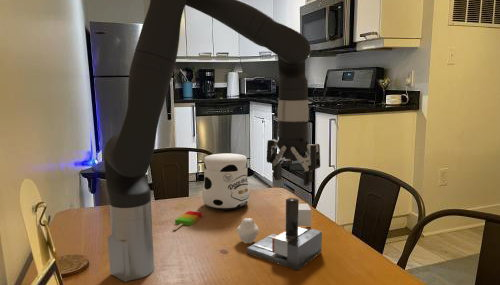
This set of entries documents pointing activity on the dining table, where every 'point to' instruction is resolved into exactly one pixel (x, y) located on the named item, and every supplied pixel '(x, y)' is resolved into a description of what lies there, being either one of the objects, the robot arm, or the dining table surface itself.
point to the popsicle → (187, 219)
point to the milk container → (225, 181)
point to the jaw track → (290, 249)
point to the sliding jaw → (288, 228)
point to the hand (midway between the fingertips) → (292, 182)
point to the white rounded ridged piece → (247, 230)
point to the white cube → (304, 215)
